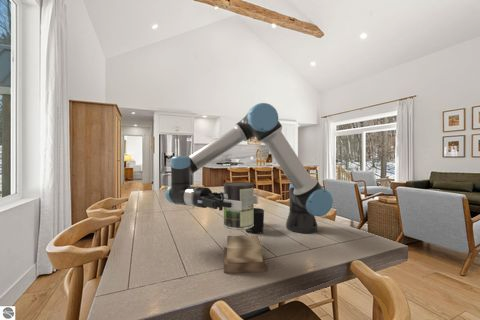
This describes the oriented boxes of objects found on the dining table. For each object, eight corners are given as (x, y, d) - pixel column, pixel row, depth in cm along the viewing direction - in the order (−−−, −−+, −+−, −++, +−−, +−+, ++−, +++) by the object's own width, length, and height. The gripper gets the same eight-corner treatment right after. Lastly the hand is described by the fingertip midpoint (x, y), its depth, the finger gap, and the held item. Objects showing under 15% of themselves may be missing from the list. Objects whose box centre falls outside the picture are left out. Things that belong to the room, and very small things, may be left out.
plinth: (259, 253, 80) (259, 234, 80) (266, 271, 67) (266, 248, 67) (224, 254, 79) (224, 235, 79) (224, 272, 66) (223, 249, 66)
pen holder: (241, 228, 108) (241, 208, 108) (259, 226, 111) (259, 207, 111) (248, 235, 99) (248, 213, 99) (267, 232, 102) (267, 211, 102)
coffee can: (223, 230, 68) (223, 185, 68) (223, 221, 78) (223, 182, 78) (256, 229, 68) (256, 185, 68) (252, 220, 79) (251, 181, 79)
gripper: (217, 201, 92) (264, 207, 80) (176, 213, 73) (230, 223, 61) (217, 184, 92) (264, 187, 80) (175, 191, 73) (230, 196, 61)
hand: (249, 202), depth 71 cm, fingers closed on coffee can, 10 cm apart
